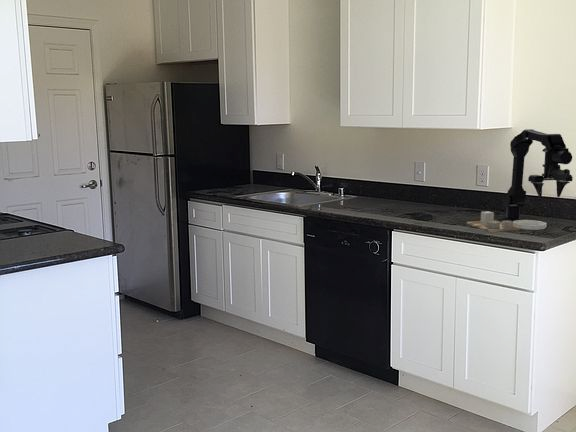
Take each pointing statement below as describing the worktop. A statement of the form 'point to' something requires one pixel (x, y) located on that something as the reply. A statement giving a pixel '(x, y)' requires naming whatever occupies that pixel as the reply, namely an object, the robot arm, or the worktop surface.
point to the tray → (477, 224)
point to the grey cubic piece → (507, 224)
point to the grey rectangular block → (486, 217)
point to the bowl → (529, 224)
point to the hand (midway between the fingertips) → (549, 197)
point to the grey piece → (493, 225)
